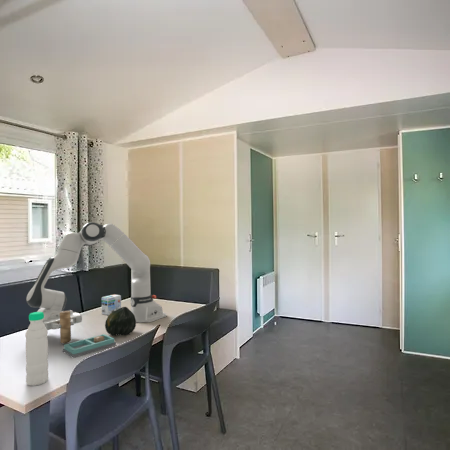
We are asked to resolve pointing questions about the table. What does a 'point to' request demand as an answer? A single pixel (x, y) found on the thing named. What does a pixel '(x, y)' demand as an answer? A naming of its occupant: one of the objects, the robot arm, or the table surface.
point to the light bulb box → (111, 304)
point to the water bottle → (36, 350)
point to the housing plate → (88, 345)
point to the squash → (120, 322)
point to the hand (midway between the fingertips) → (66, 325)
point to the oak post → (65, 327)
